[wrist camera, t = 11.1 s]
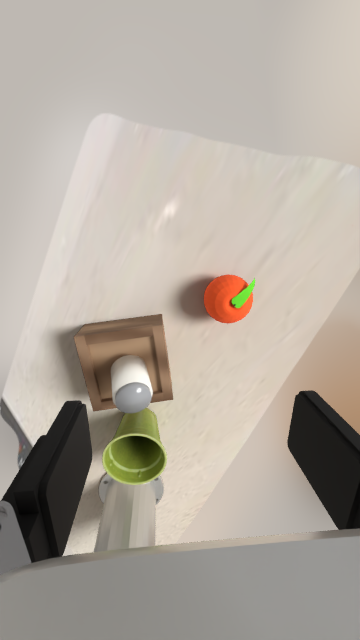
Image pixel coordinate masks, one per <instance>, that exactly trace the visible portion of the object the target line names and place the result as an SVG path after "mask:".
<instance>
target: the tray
mask: <svg viewBox="0 0 360 640" xmlns="http://www.w3.org/2000/svg"><path fill="white" fill-rule="evenodd" d="M74 340H75V344H76V348H77V352H78V355H79V359H80V363H81V367H82V370H83V374H84V378H85V382H86V386H87V389H88V393H89V397H90V401H91V404H92V408H93V411H99V410H106V409H113V408H117V407H116V405H115V404H114V402H113V398H112V383H111V367H112V365H113V363H114V362H115V361H116V360H117V359H119V358H121V357H123V356H127V355H135V356H138V357H140V358H142V359H143V360H144V362H145V364H146V367H147V371H148V375H149V379H150V382H151V386H152V390H153V395H152V398H151V402H150V403H153V402H160V401H166V400H173V393H172V382H171V375H170V368H169V361H168V354H167V347H166V340H165V333H164V326H163V319H162V314H159V315H151V316H144V317H136V318H128V319H121V320H113V321H106V322H98V323H91V324H85V325H84V326H83V327H82V328H81V329H80V330H79V332H78V333H77V334H76V335H75V336H74Z"/></svg>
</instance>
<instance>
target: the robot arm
mask: <svg viewBox="0 0 360 640" xmlns="http://www.w3.org/2000/svg"><path fill="white" fill-rule="evenodd" d="M288 448H289V450H290V452H291V453H292V455H293V456H294V458H295V460H296V462H297V463H298V465H299V467H300V468H301V470H302V471H303V473H304V475H305V476H306V478H307V480H308V481H309V483H310V484H311V486H312V488H313V489H314V491H315V492H316V494H317V496H318V497H319V499H320V501H321V502H322V504H323V505H324V507H325V509H326V510H327V511H328V514H329V515H330V517H331V518H332V520H333V522H334V523H335V525H336V527H337V528H338V529H339V530H331V531H319V532H308V533H307V532H306V533H295V534H282V535H271V536H259V537H248V538H236V539H225V540H215V541H202V542H191V543H181V544H170V545H160V546H155V528H156V504H157V503H158V502H159V501H160V499H161V498H162V495H163V491H164V484H163V480H162V478H161V476H160V475H159V476H158V477H157V478H155V479H154V480H152V481H150V482H148V483H145V484H140V485H128V484H123V483H120V482H118V481H116V480H114V479H113V478H112V477H110V476H109V475H108V473H106V474H105V475H104V476H103V478H102V480H101V482H100V485H99V497H100V499H101V501H102V502H103V504H104V505H103V510H102V515H101V520H100V524H99V529H98V534H97V539H96V543H95V548H94V552H92V553H83V554H75V555H68V556H63V557H62V555H63V553H64V550H65V547H66V544H67V541H68V537H69V534H70V531H71V528H72V524H73V521H74V518H75V514H76V511H77V508H78V505H79V501H80V498H81V495H82V491H83V488H84V485H85V482H86V478H87V475H88V472H89V468H90V465H91V462H92V447H91V440H90V432H89V425H88V417H87V409H86V405H85V404H82V403H81V401H66V402H65V403H64V405H63V407H62V409H61V410H60V412H59V414H58V415H57V417H56V419H55V421H54V422H53V424H52V426H51V428H50V429H49V431H48V433H47V435H42V436H41V437H40V438H39V439H38V440H37V442H36V444H35V445H34V447H33V449H32V450H31V452H30V454H29V455H28V457H27V459H26V460H25V462H24V463H23V465H22V467H21V468H20V470H19V472H18V473H17V475H16V477H15V478H14V480H13V482H12V484H11V485H10V487H9V488H8V490H7V492H6V493H5V495H4V496H3V499H2V500H1V501H0V640H360V435H359V434H358V433H357V432H356V431H355V430H354V429H353V428H352V427H351V426H350V425H349V424H348V423H347V422H346V421H345V420H344V419H343V418H342V417H340V415H339V414H338V413H337V412H336V411H335V410H334V409H333V408H332V407H331V406H330V405H328V404H327V403H326V402H325V401H324V400H323V399H322V398H321V397H320V396H319V395H318V394H317V393H316V392H315V391H300V392H299V394H298V395H296V397H295V402H294V407H293V413H292V419H291V425H290V430H289V436H288Z"/></svg>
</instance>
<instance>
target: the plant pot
mask: <svg viewBox="0 0 360 640" xmlns="http://www.w3.org/2000/svg"><path fill="white" fill-rule="evenodd" d="M102 463H103V467H104V469H105V471H106V472H107V473H108V475H109V476H110V477H112V478H113V479H114V480H116V481H118V482H120V483H123V484H128V485H140V484H145V483H148V482H150V481H152V480H154V479H155V478H157V477H158V476H159V475H160V474H161V473H162V472H163V470H164V469H165V466H166V463H167V454H166V451H165V449H164V447H163V445H162V443H161V441H160V436H159V430H158V424H157V418H156V415H155V414H154V413H153V412H152V411H150V410H149V409H148V408H145V409H143V410H142V411H140V412H136V413H125V415H124V416H123V418H122V421H121V423H120V425H119V428H118V430H117V432H116V434H115V437H114V438H113V439H112V441H110V442H109V443H108V445H107V446H106V448H105V449H104V452H103V455H102Z"/></svg>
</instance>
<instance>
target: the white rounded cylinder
mask: <svg viewBox="0 0 360 640" xmlns="http://www.w3.org/2000/svg"><path fill="white" fill-rule="evenodd" d="M111 383H112V398H113V402H114V404H115V405H116V407H117V408H118V409H119V410H120V411H121V412H124V413H136V412H140V411H142V410H143V409H145V408H146V407H147V406H148V405H149V404H150V402H151V398H152V395H153V390H152V386H151V382H150V379H149V375H148V371H147V367H146V364H145V362H144V360H143V359H142V358H140V357H138V356H135V355H127V356H123V357H121V358H119V359H117V360H116V361H115V362H114V363H113V365H112V367H111Z"/></svg>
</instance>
